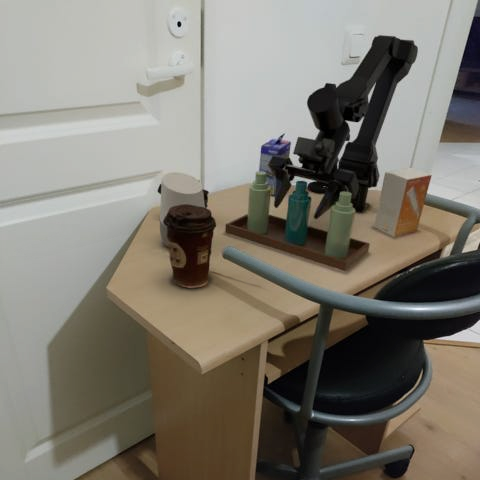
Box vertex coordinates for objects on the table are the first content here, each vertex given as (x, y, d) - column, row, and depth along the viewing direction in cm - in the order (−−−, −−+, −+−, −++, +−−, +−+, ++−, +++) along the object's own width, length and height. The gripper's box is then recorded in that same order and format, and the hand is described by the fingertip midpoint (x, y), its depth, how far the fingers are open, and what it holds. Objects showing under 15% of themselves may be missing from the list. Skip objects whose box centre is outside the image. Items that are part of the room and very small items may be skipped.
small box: (394, 238, 106) (407, 179, 99) (372, 228, 111) (384, 171, 104) (418, 231, 110) (432, 174, 103) (396, 222, 115) (409, 166, 108)
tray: (254, 219, 112) (254, 210, 111) (367, 253, 99) (370, 243, 98) (225, 234, 105) (225, 224, 103) (344, 273, 91) (346, 262, 90)
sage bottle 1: (253, 224, 109) (256, 168, 102) (271, 228, 107) (276, 172, 100) (243, 230, 105) (245, 173, 98) (261, 235, 103) (265, 177, 97)
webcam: (301, 189, 133) (305, 151, 127) (316, 183, 138) (320, 147, 132) (325, 196, 129) (331, 157, 123) (340, 189, 133) (345, 152, 128)
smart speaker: (189, 259, 93) (188, 188, 86) (151, 248, 97) (146, 178, 89) (215, 242, 101) (216, 175, 93) (178, 232, 104) (176, 167, 96)
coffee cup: (173, 295, 82) (170, 222, 75) (160, 273, 88) (156, 204, 81) (221, 286, 85) (222, 216, 78) (205, 266, 91) (205, 199, 84)
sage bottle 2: (329, 247, 100) (338, 187, 93) (350, 252, 98) (361, 192, 91) (320, 255, 96) (329, 194, 89) (342, 261, 94) (353, 199, 88)
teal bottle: (281, 237, 103) (287, 179, 96) (302, 236, 104) (309, 178, 97) (287, 246, 99) (294, 186, 92) (309, 245, 100) (316, 185, 93)
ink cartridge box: (276, 196, 127) (281, 138, 119) (256, 192, 128) (259, 136, 121) (287, 185, 135) (292, 131, 127) (268, 182, 136) (272, 128, 128)
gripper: (276, 112, 96) (241, 180, 94) (363, 127, 87) (327, 202, 85) (292, 146, 106) (261, 208, 104) (372, 163, 97) (340, 231, 95)
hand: (294, 212), depth 97 cm, fingers open, 9 cm apart
